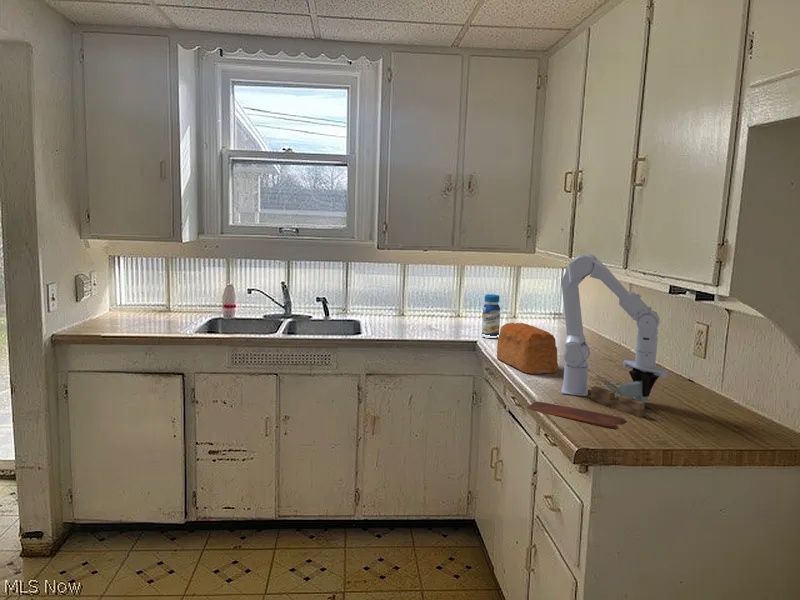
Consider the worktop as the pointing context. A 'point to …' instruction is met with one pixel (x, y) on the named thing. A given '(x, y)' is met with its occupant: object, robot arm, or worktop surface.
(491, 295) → the beverage bottle
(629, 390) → the grey notched plate
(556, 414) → the wooden tablet
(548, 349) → the bread
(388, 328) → the worktop surface
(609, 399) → the walnut slotted rail
